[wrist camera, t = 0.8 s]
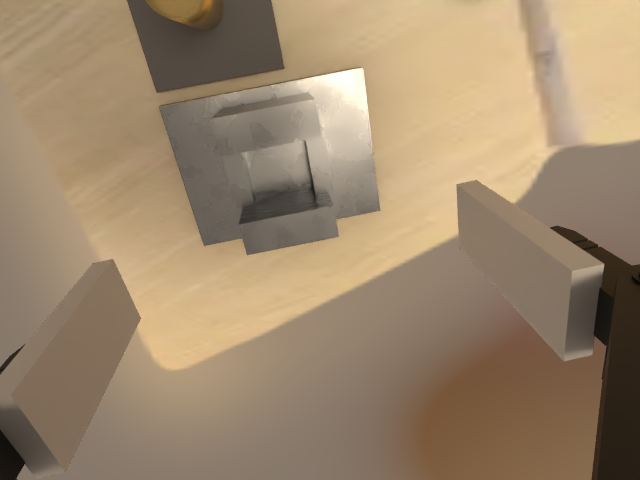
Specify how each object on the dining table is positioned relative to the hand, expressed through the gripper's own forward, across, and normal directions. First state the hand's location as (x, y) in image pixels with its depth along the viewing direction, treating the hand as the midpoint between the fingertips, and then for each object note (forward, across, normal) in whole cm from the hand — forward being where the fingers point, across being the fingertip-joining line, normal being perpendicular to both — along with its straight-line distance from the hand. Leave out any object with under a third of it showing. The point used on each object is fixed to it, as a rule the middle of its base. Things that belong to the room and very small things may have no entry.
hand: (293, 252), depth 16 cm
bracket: (+21, -1, -2) cm, 21 cm away
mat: (+21, -4, +10) cm, 24 cm away
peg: (+21, -4, +10) cm, 24 cm away
